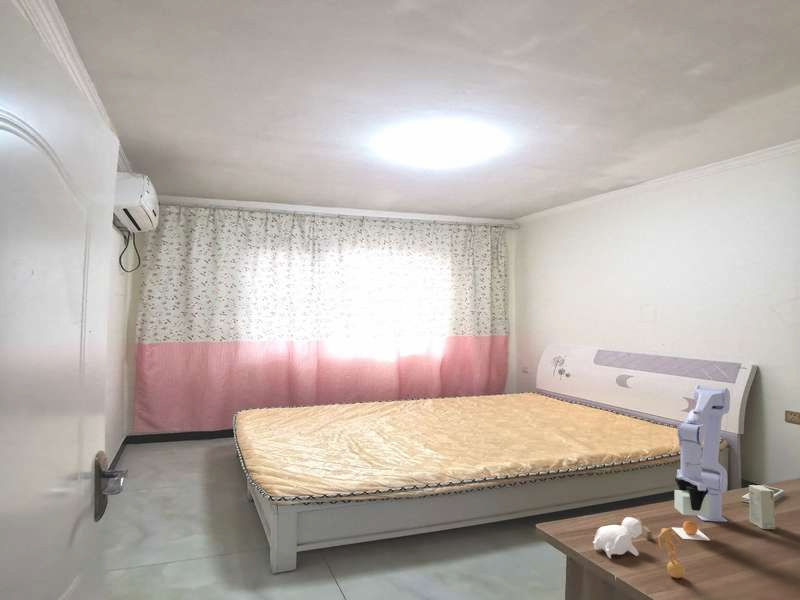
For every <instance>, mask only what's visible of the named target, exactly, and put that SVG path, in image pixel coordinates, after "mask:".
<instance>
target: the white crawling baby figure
mask: <svg viewBox="0 0 800 600" xmlns="http://www.w3.org/2000/svg"><path fill="white" fill-rule="evenodd" d="M640 535H642V526H641V523H640V522H639V521H638V520H637V519H635V518H633V516H632V517H629V516H627V517H625V518H624V519H623V520H622V522H621V524H619V525H618V524H611V525H609V524H608V525H605V526H604V525H603V526H601V527H599V528H598V529H597V530H596V532H595V535H594V540H593V541H592V544H593V548H594V550H595V549H596V550H599V549H600V550H603V551H604V552H605V554H606V556H607V558H608V557H609V558H608V559H610V558H611V559H612V555H624V554H626V552H627V551H628V552H630V553H631V554H633V555H634V556H636V557H638V556H639V554H640V553H639V551H638V550H637V548H636V547H635V546H634V544H633V543H632V541H633V540H632V539H636V538H637V537H639V536H640ZM596 550H595V551H596Z"/></svg>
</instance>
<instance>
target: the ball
mask: <svg viewBox="0 0 800 600" xmlns="http://www.w3.org/2000/svg"><path fill="white" fill-rule="evenodd" d="M682 528H683V529H684V531H685V532H686V533H687V534H690V535H694V534H696V533H697V530H699V528H698V525H697V523H695V522H694V521H692V520H687V521H684V522H683V524H682Z"/></svg>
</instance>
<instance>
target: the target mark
mask: <svg viewBox="0 0 800 600" xmlns="http://www.w3.org/2000/svg"><path fill="white" fill-rule="evenodd" d="M670 529H671V530H673V531H674V533H675V534H677V535H678V536H679V537H680V538H681V539H682V540H694V541H695V540H696V541H711V539H710V538H709V537H708V536H706V535H705V534H704V533H703V532H702V531H701V530H699V529H698V530H697V533H696V534H694V535H690V534H687V533H686V532H685V531H684V529H683V527H670Z"/></svg>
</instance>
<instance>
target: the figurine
mask: <svg viewBox="0 0 800 600" xmlns="http://www.w3.org/2000/svg"><path fill="white" fill-rule="evenodd" d="M672 536H673V537H675V539H676V540H677V541H678V542H679V543H680V545H681V546H683V544H682V541H681V540H680V538H679V537H678V536H677V535H676V532H673V531H672V528H671V527H668V528H666V527H663V528H661V530H660V534H659V535H658V536H657V540H658V541H657V542H658V545H659V550H660V551H661V552H662V551H663V550H664V549H663V547H662V542H661V538H663V539H664V540H665V543H664V545H665V547H666V549H667V550H668V553H667V554H668V558H669V560H670V561H669V562H668V564H667V566H666V569H667V573H668V574H669V576H671V577H673V578H675V579H681V578H682V577H684V575H685V567H684V565H682V563H681V562H679V560H677V558H676V554H677V553H678V551H679V550H678V548H677V547H676V545H675V543H674V541H672ZM673 550H674V551H673ZM672 558H673V559H672Z"/></svg>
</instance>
